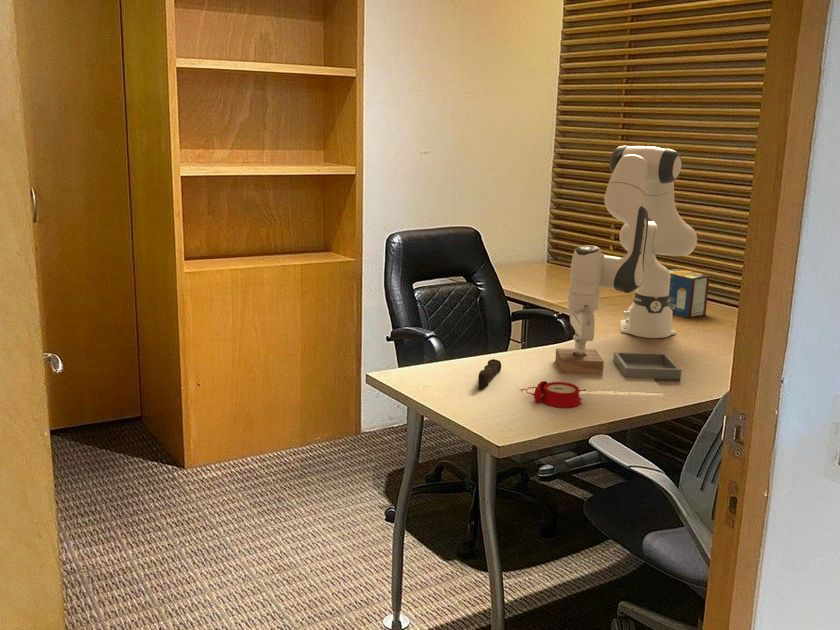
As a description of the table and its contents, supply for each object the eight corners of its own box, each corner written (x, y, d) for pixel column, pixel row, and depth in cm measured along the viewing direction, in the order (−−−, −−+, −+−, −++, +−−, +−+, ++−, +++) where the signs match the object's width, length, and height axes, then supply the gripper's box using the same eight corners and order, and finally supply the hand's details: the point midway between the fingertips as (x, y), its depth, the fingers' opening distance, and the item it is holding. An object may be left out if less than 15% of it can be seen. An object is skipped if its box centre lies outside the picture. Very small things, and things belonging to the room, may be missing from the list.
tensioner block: (555, 363, 251) (556, 348, 250) (594, 364, 251) (595, 349, 250) (561, 375, 239) (562, 360, 238) (602, 377, 239) (603, 361, 238)
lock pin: (570, 362, 247) (572, 333, 245) (584, 363, 247) (587, 334, 245) (572, 367, 243) (574, 337, 240) (587, 367, 243) (589, 338, 240)
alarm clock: (582, 398, 211) (527, 378, 215) (575, 420, 213) (520, 400, 217) (588, 386, 220) (535, 367, 224) (581, 406, 222) (529, 387, 226)
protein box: (674, 306, 328) (678, 268, 324) (706, 315, 316) (710, 275, 312) (656, 309, 323) (660, 270, 319) (687, 318, 310) (692, 277, 306)
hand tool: (488, 370, 243) (488, 355, 242) (501, 372, 242) (501, 357, 241) (469, 390, 226) (470, 374, 225) (483, 392, 224) (484, 376, 223)
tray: (612, 362, 253) (613, 352, 252) (665, 364, 253) (666, 353, 252) (624, 379, 237) (625, 368, 236) (680, 381, 237) (681, 369, 236)
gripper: (601, 310, 230) (597, 358, 233) (588, 294, 250) (584, 337, 253) (578, 310, 230) (575, 357, 233) (567, 293, 250) (564, 337, 253)
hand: (580, 347), depth 243 cm, fingers closed on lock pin, 3 cm apart
